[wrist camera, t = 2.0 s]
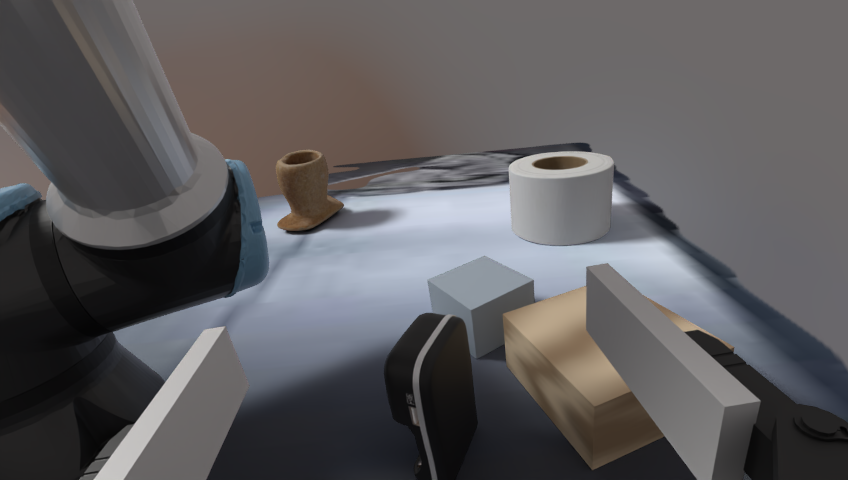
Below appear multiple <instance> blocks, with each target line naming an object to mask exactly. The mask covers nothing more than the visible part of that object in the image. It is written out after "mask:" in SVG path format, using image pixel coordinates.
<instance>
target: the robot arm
mask: <svg viewBox="0 0 848 480" xmlns="http://www.w3.org/2000/svg"><path fill="white" fill-rule="evenodd" d="M0 126H1V127H2V128H3V129H4V130H5V131H6V132H7V133H8V134H9V136H10V137H11V138H13V140H14V141H15V142H16V143H17V144H18V145H19V147H20V148H21V149H22V150H23V151H24V152H25V153H26V154H27V156H28V157H29V158H30V159H31V160H32V161H33V162H34V163H35V164H36V166H37V167H38V168H39V169H40V170H41V171H42V172H43V173H44V174H45V175H46V177H47V178H48V179H49V180H50V181H51V184H50V186H49V189H48V192H47V198H46V200H42V199H41V197H42V195H41V193H40V192H39V191H36V190H35V189H34V188H33V187H32V186H31V185H29V184H25V183H23V184H17V185H16V186H10V187H5V188H1V189H0V480H206V479H207V477H208V475H209V472H210V470H211V468H212V466H213V464H214V462H215V459H216V457H217V455H218V453H219V451H220V449H221V446H222V444H223V442H224V440H225V438H226V436H227V433H228V431H229V429H230V427H231V425H232V423H233V420H234V418H235V416H236V414H237V412H238V410H239V408H240V405H241V403H242V401H243V399H244V397H245V395H246V392H247V390H248V388H249V386H250V385H249V383H248V381H247V378H246V376H245V373H244V371H243V368H242V366H241V363H240V361H239V358H238V356H237V353H236V351H235V348H234V346H233V344H232V341H231V339H230V336H229V334H228V331H227V329H226V326H224V327H218V328H212V329H206V330H204V331H203V332H202V334H201V335H200V336H199V338H198V339H197V340H196V342H195V343H194V344H193V346H192V347H191V348H190V350H189V351H188V352H187V354H186V355H185V357H184V358H183V359H182V361H181V362H180V363H179V365H178V366H177V367H176V369H175V370H174V371H173V373H172V374H171V376H170V377H169V378H168V380H167V381H166V382H164V380H163V379H162V378H161V376H160V375H159V374H157V373H156V372H155V371H153V370H152V369H151V368H150V367H148V366H147V365H146V364H145V363H143V362H142V361H141V360H140V359H138V358H137V357H136V356H135V355H133V354H132V353H131V352H129V351H128V350H127V349H126V348H124V347H123V346H122V345H121V344H120V343H119V342H118V341H117V339H116V337H115V335H114V334H113V331H117V330H120V329H123V328H126V327H129V326H132V325H135V324H139V323H142V322H145V321H148V320H151V319H154V318H157V317H161V316H164V315H167V314H170V313H173V312H177V311H180V310H183V309H187V308H190V307H193V306H197V305H200V304H203V303H206V302H210V301H213V300H216V299H220V298H223V297H224V298H227V297H231V296H233V295H234V294H236V292H239V291H241V290H244V289H247V288H250V287H252V286H255V285H257V284H259V283H261V282H262V281H263V280H264V279H265V277H266V275H267V273H268V270H269V256H268V248H267V241H266V236H265V231H264V228H263V226H262V219H261V212H260V207H259V203H258V199H257V196H256V192H255V188H254V185H253V182H252V179H251V176H250V173H249V171H248V169H247V167H246V165H245V164H244V163H243V162H242V161H239V160H229V159H226V160H225V159H224V157H223V156H222V154H221V153H220V151H219V150H218V149H217V148H216V147H215V146H214V145H213V144H212V143H211V142H209V141H208V140H206V139H204V138H202V137H200V136H198V135H196V134H193V133H190V131H189V128H188V126H187V124H186V122H185V119H184V117H183V115H182V112H181V110H180V108H179V106H178V103H177V101H176V99H175V96H174V94H173V92H172V89H171V87H170V85H169V83H168V80H167V78H166V76H165V73H164V71H163V69H162V67H161V64H160V62H159V60H158V57H157V55H156V53H155V50H154V48H153V46H152V44H151V41H150V39H149V37H148V34H147V32H146V30H145V28H144V25H143V23H142V21H141V19H140V16H139V14H138V12H137V9H136V7H135V5H134V2H133V0H0ZM586 331H587V332H588V333H589V335H590V336H591V337H592V339H593V340H594V341H595V343H596V344H597V345H598V347H599V348H600V350H601V351H602V352H603V354H604V355H605V356H606V358H607V359H608V360H609V362H610V363H611V364H612V366H613V367H614V368H615V370H616V371H617V372H618V374H619V375H620V376H621V378H622V379H623V380H624V382H625V383H626V385H627V386H628V387H629V389H630V390H631V391H632V393H633V394H634V395H635V397H636V398H637V399H638V401H639V402H640V403H641V405H642V406H643V407H644V409H645V410H646V411H647V413H648V414H649V416H650V417H651V418H652V420H653V421H654V422H655V424H656V425H657V426H658V428H659V429H660V430H661V432H662V433H663V434H664V436H665V437H666V438H667V440H668V441H669V442H670V444H671V445H672V446H673V448H674V449H675V451H676V452H677V453H678V455H679V456H680V457H681V459H682V460H683V461H684V463H685V464H686V465H687V467H688V468H689V469H690V471H691V472H692V473H693V475H694V476H695V477H696V479H697V480H743V477H744V472H746V474H747V475H748V476H749V477H750V478H751V479H752V480H848V423H847V422H846V421H845V420H843V419H841V418H839V417H838V416H836V415H834V414H832V413H830V412H828V411H825V410H822V409H819V408H817V407H813V406H807V405H801V404H796V403H795V402H794V401H792V400H791V399H790V398H789V397H788V396H786V395H785V394H784V393H783V392H782V391H780V390H779V389H778V388H777V387H775V386H774V385H773V384H772V383H771V382H769V381H768V380H767V379H766V378H765V377H763V376H762V375H761V374H760V373H759V372H757V371H756V370H755V369H754V368H752V367H751V366H750V365H747V364H746V362H745V361H744V360H743V359H742V358H740V357H739V356H738V355H737V354H734V353H733V351H732V350H731V349H729V348H728V347H727V346H726V345H725V344H723V343H722V342H721V341H720V340H719V339H717V338H715V337H713V336H710V335H708V334H706V333H704V332H702V331H700V330H693V331H687V332H683V331H682V330H681V329H680V328H679V327H678V326H677V325H676V324H675V323H673V322H672V321H671V320H670V319H669V318H668V317H667V316H666V315H664V314H663V313H662V312H661V311H660V310H659V309H658V308H657V307H656V306H654V305H653V304H652V303H651V302H650V301H649V300H648V299H647V298H646V297H644V296H643V295H642V294H641V293H640V292H639V291H638V290H637V289H636V288H634V287H633V286H632V285H631V284H630V283H629V282H628V281H627V280H626V279H624V278H623V277H622V276H621V275H620V274H619V273H618V272H617V271H615V270H614V269H613V268H612V267H611V266H610V265H609V264H608V263H607V264H601V265H594V266H588V267H587V272H586Z"/></svg>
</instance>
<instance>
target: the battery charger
mask: <svg viewBox="0 0 848 480" xmlns="http://www.w3.org/2000/svg"><path fill="white" fill-rule="evenodd" d="M384 377H385V384H386V390H387V395H388V400H389V405H390V408H391V411H392V415H393V419H394V420H395V421H397V422H398V423H401V424H403V425H406V426H408V428H409V429H410V430H411V431H412V433H413V434H414V436H415V438H416V442H417V446H418V450H419V453H420V455H419V456H418V458H417V460H416V463H415V465H414V473H415V476H416V478H417V480H455V478H456V476H457V473H458V471H459V469H460V466H461V464H462V461H463V459H464V457H465V454H466V452H467V449H468V447H469V444H470V442H471V440H472V437H473V435H474V432H475V430H476V427H477V424H478V420H477V413H476V406H475V397H474V387H473V376H472V367H471V358H470V350H469V342H468V335H467V329H466V325H465V322H464V320H463V319H461V318H460V317H456V316H455V315H451V314H448V315H442V314H436V313H424V314H422V315H419V316H418V317H417V318H416V320H415V321H414V322H413V323H412V324H411V325H410V327H409V328H408V329H407V330H406V332H405V333H404V334H403V335H402V337H401V338H400V339H399V341H398V342H397V343H396V345H395V346H394V347H393V349H392V350H391V352H390V353H389V355H388V357H387V359H386V362H385V366H384Z"/></svg>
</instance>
